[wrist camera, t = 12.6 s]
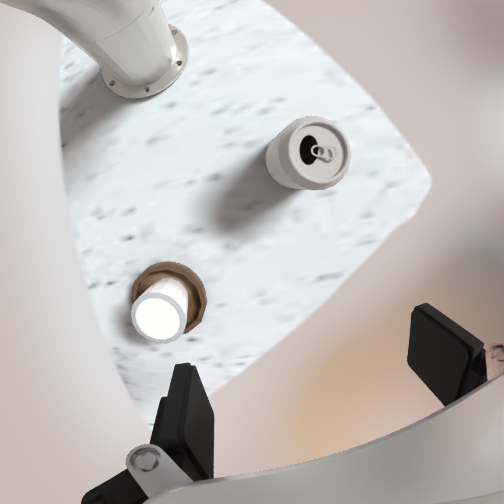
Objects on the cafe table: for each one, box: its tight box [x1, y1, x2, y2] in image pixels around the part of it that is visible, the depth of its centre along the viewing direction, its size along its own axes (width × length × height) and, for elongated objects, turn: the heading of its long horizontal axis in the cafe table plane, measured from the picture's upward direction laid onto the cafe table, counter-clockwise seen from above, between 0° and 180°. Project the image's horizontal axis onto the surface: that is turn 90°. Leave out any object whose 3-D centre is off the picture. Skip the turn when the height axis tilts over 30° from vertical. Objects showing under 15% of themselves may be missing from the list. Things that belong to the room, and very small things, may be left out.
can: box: [265, 116, 351, 190], centre depth 30 cm, size 8×8×12 cm
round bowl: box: [131, 262, 207, 334], centre depth 38 cm, size 10×10×2 cm
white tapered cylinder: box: [131, 278, 188, 343], centre depth 35 cm, size 7×7×7 cm
